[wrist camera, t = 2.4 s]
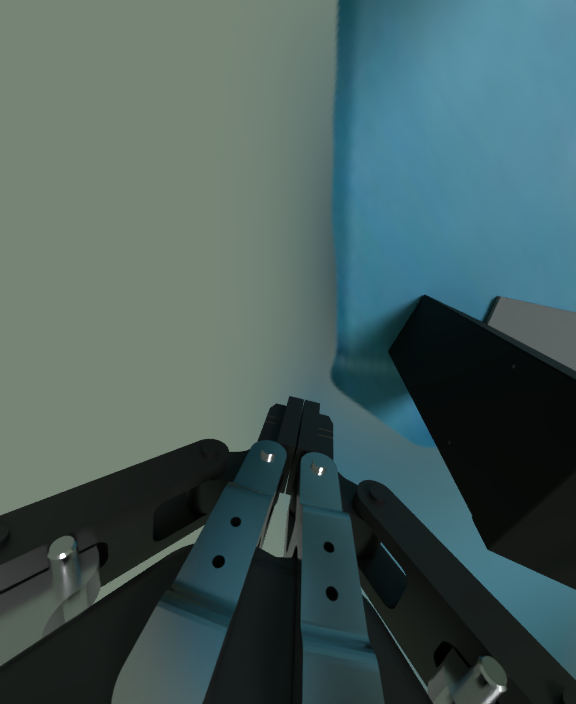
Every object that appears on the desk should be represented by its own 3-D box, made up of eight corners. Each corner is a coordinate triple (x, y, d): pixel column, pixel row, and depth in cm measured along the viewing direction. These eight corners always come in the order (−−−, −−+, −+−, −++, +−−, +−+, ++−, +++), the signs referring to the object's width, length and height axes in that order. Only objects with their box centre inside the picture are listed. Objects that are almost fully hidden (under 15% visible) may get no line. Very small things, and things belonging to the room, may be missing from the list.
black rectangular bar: (386, 351, 35) (535, 648, 10) (423, 292, 33) (783, 491, 7) (444, 378, 36) (743, 741, 10) (486, 322, 33) (1076, 629, 7)
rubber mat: (497, 296, 32) (500, 297, 31) (676, 334, 30) (683, 335, 30) (453, 390, 36) (455, 393, 35) (608, 427, 35) (612, 430, 34)
